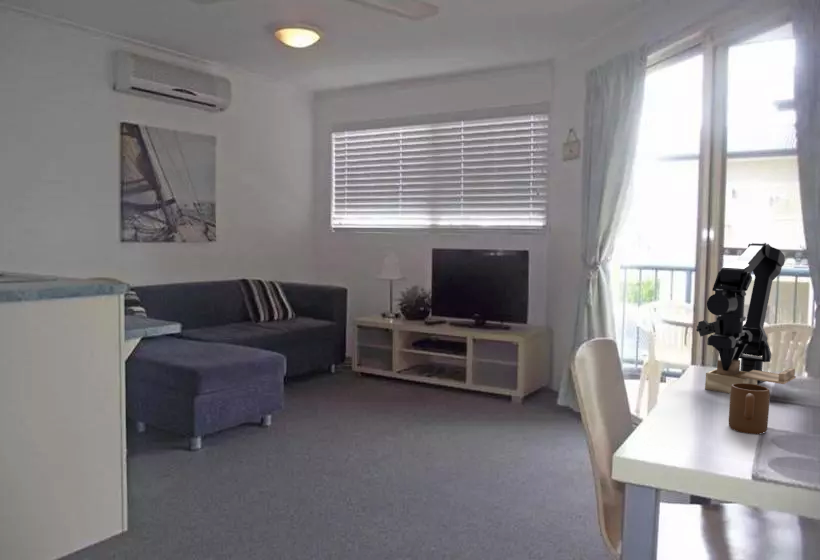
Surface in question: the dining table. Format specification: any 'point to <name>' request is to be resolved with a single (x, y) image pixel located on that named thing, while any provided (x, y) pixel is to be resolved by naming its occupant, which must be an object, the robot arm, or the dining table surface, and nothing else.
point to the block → (732, 369)
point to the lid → (771, 376)
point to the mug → (749, 408)
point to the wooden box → (725, 381)
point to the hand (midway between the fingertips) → (728, 369)
